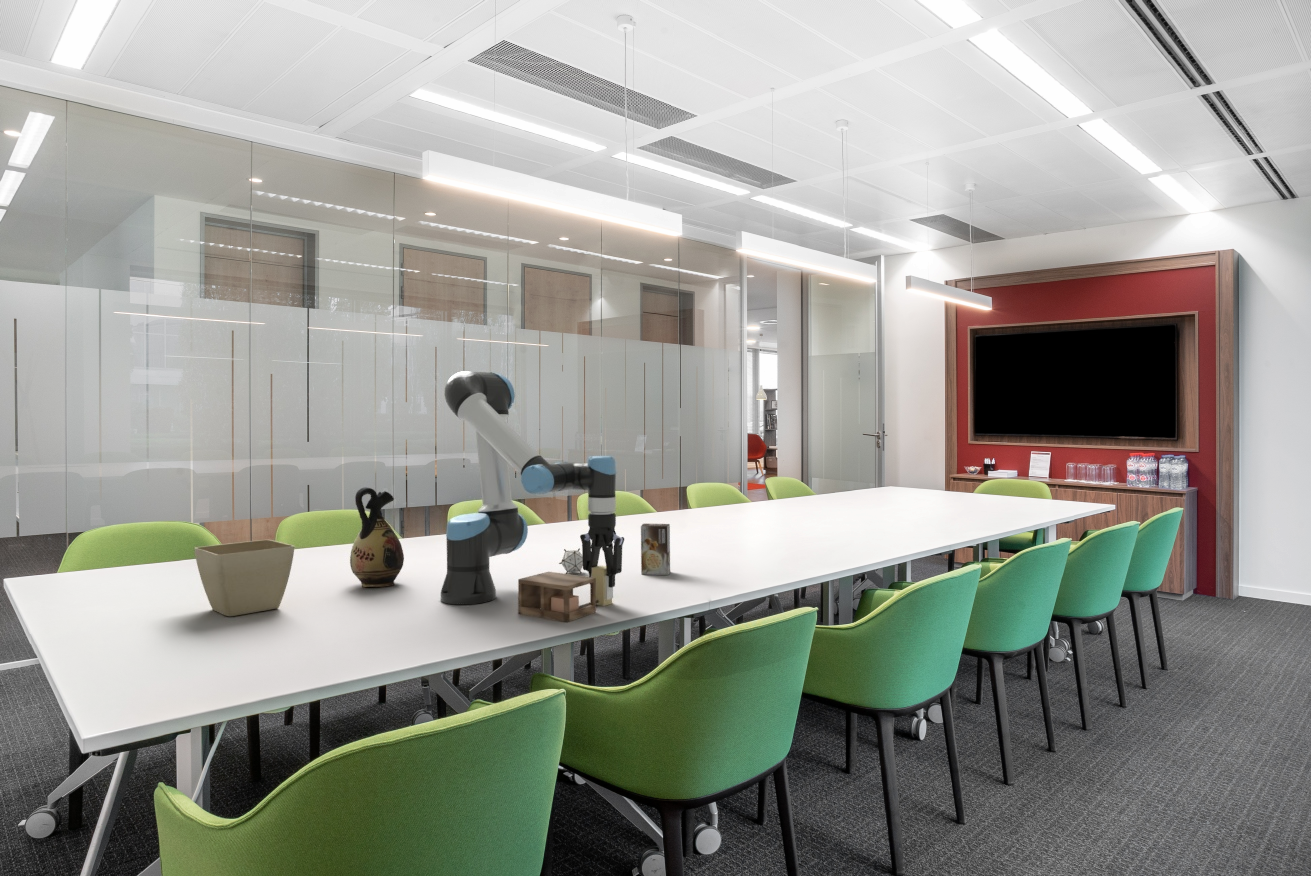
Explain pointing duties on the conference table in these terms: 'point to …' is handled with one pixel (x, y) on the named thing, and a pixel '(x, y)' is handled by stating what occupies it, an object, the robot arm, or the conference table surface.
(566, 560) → the game die
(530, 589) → the shelf
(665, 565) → the coffee box
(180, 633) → the conference table surface
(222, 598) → the flower pot
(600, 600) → the block
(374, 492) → the ceramic jug
